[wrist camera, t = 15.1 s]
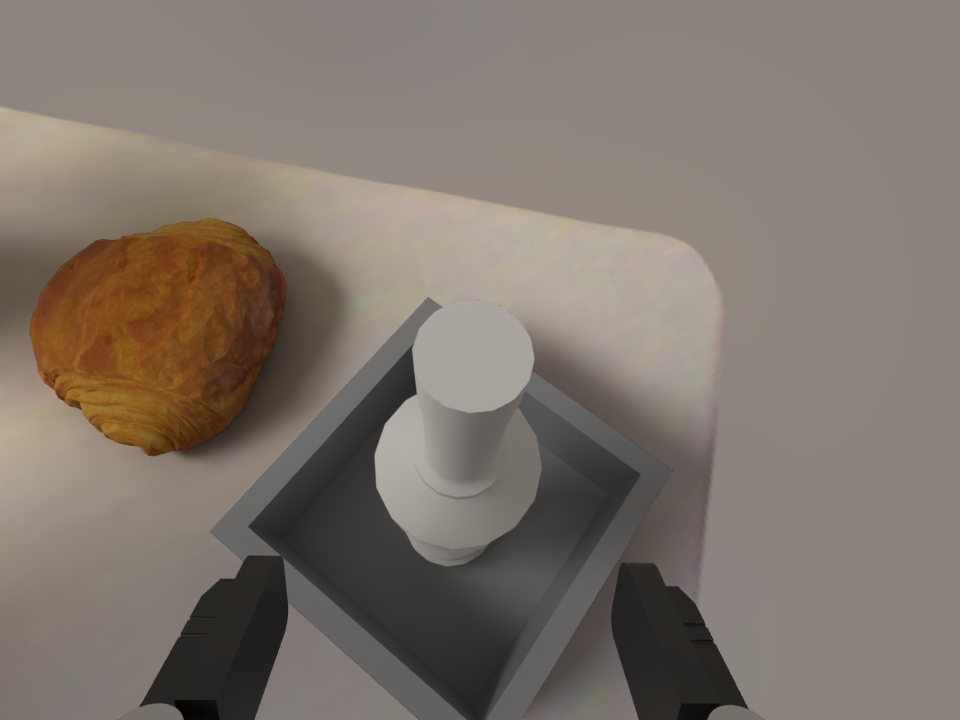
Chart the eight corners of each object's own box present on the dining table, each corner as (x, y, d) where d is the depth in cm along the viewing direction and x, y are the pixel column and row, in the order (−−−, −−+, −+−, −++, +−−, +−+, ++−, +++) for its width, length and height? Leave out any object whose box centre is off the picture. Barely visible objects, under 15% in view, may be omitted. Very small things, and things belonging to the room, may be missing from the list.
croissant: (327, 292, 41) (313, 214, 35) (227, 487, 33) (182, 436, 27) (145, 240, 42) (95, 153, 35) (1, 421, 34) (-100, 354, 27)
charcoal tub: (256, 544, 32) (209, 531, 26) (430, 347, 38) (428, 297, 31) (475, 738, 29) (484, 779, 23) (630, 493, 35) (672, 470, 28)
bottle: (411, 472, 33) (342, 212, 10) (496, 479, 33) (621, 238, 10) (400, 564, 31) (286, 500, 8) (491, 571, 31) (633, 527, 8)
